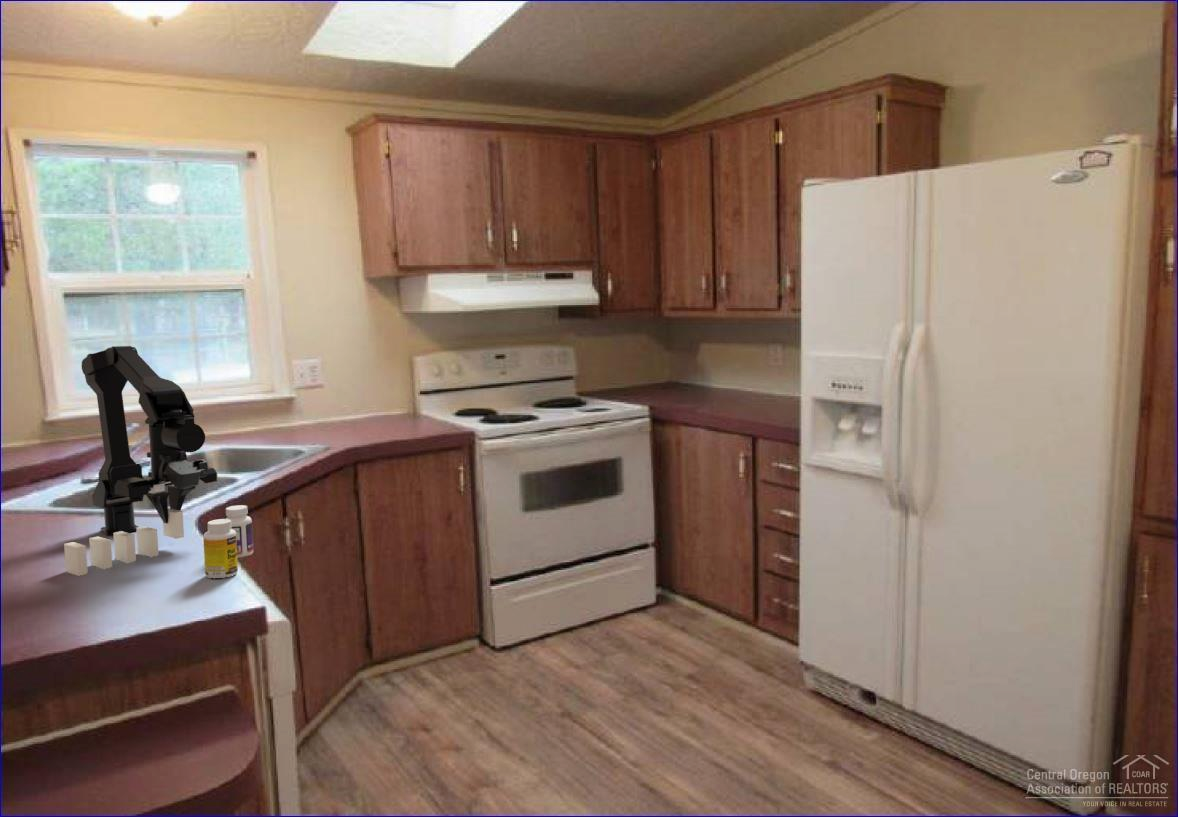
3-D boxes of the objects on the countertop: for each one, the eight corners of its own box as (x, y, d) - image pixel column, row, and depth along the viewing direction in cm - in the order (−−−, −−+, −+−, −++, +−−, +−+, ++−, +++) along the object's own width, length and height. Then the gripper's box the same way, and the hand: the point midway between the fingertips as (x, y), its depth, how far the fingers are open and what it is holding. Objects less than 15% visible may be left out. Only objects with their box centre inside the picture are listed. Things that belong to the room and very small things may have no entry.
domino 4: (150, 557, 161) (149, 531, 160) (138, 553, 163) (136, 527, 163) (158, 555, 162) (156, 529, 162) (145, 551, 165) (144, 526, 164)
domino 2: (103, 569, 153) (101, 541, 153) (91, 565, 156) (89, 538, 155) (112, 567, 155) (110, 539, 154) (99, 563, 157) (97, 536, 156)
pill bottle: (245, 549, 167) (242, 502, 165) (258, 554, 163) (256, 506, 162) (219, 555, 162) (216, 507, 161) (232, 560, 159) (230, 512, 158)
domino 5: (176, 538, 164) (175, 512, 164) (163, 535, 167) (162, 509, 166) (184, 536, 166) (182, 511, 165) (171, 533, 168) (169, 508, 167)
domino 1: (78, 576, 149) (76, 547, 149) (66, 571, 152) (63, 543, 151) (87, 573, 151) (85, 545, 150) (75, 569, 153) (73, 541, 153)
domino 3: (127, 563, 157) (126, 536, 156) (115, 559, 159) (113, 532, 159) (136, 561, 158) (134, 534, 158) (123, 557, 161) (121, 531, 160)
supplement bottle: (231, 579, 148) (228, 525, 146) (200, 580, 147) (197, 525, 146) (242, 570, 153) (240, 517, 152) (212, 570, 153) (209, 517, 152)
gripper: (142, 458, 152) (147, 538, 154) (231, 444, 168) (235, 517, 170) (110, 452, 158) (115, 530, 160) (200, 439, 174) (203, 510, 176)
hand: (170, 522), depth 166 cm, fingers closed on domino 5, 2 cm apart
